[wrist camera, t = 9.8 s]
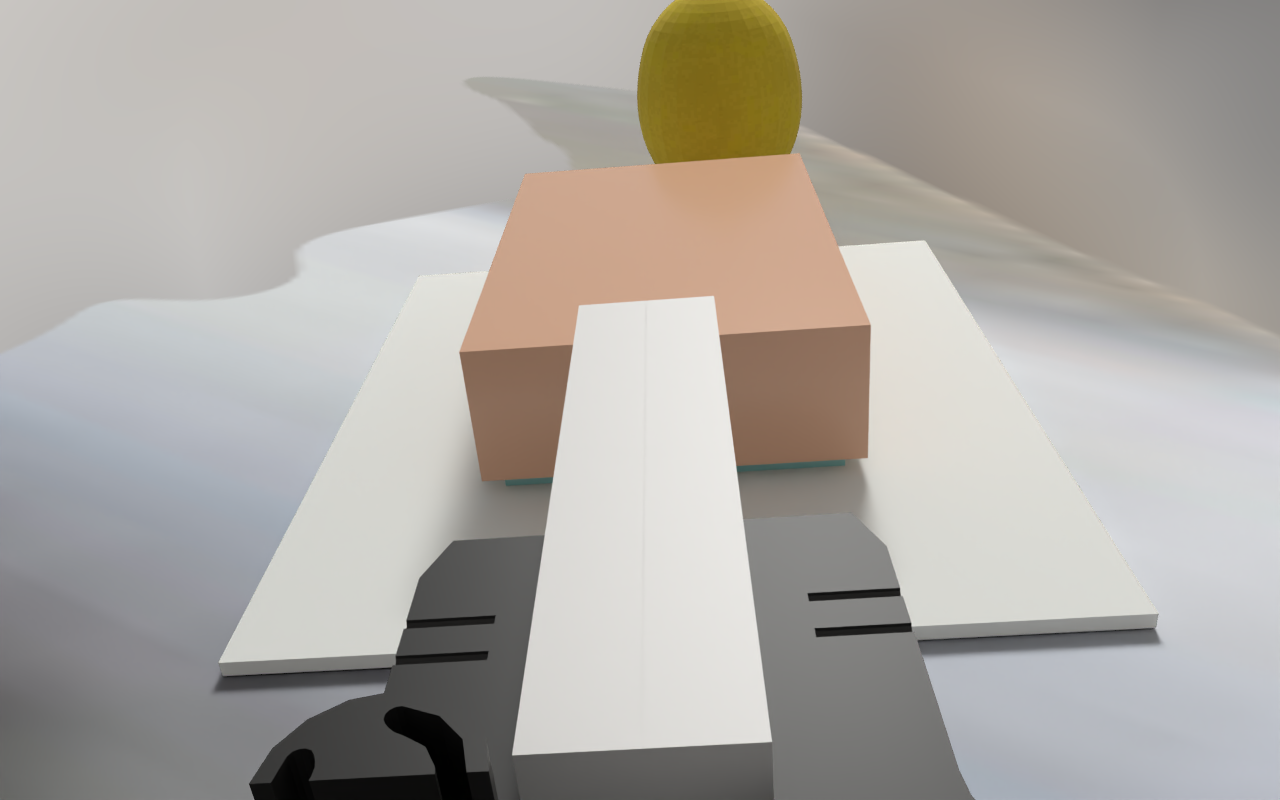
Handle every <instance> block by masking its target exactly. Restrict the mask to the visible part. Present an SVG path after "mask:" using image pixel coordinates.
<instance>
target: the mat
mask: <svg viewBox="0 0 1280 800" xmlns="http://www.w3.org/2000/svg"><path fill="white" fill-rule="evenodd" d="M839 250H840V252H841V254H842V257H843V259H844V262H845V264H846V266H847V269H848V271H849V274H850V276H851V278H852V281H853V283H854V286H855V288H856V290H857V293H858V295H859V298H860V300H861V302H862V305H863V307H864V310H865V312H866V314H867V317H868V319H869V322H870V324H871V341H870V386H869V432H868V458H860V459H845V466H829V467H812V468H796V469H779V470H762V471H746V472H737V476H738V484H739V492H740V500H741V507H742V515H743V519H753V518H770V517H786V516H802V515H819V514H835V513H851V512H852V513H853V514H854V515H855V516H856V517H857V518H858V519H859V520H860V521H861V522H862V523H863V524H864V525H865V526H866V527H867V528H868V529H869V530H870V531H871V532H873V533H874V534H875V535H876V536H877V537H878V538H879V539H880V540H881V541H882V542H883V543H884V544H885V545H886V546H887V548H888V551H889V554H890V558H891V561H892V564H893V567H894V570H895V573H896V576H897V579H898V582H899V585H900V593H901V596H903V598H904V601H905V604H906V607H907V610H908V613H909V616H910V620H911V623H912V632H915V635H916V638H917V640H929V639H948V638H967V637H987V636H1006V635H1025V634H1045V633H1064V632H1083V631H1103V630H1122V629H1141V628H1156V625H1157V620H1158V615H1159V613H1158V612H1157V610H1156V609H1155V607H1154V605H1153V604H1152V602H1151V601H1150V599H1149V597H1148V596H1147V594H1146V593H1145V591H1144V589H1143V588H1142V586H1141V585H1140V583H1139V581H1138V580H1137V578H1136V577H1135V575H1134V573H1133V572H1132V570H1131V569H1130V567H1129V565H1128V564H1127V562H1126V561H1125V559H1124V558H1123V556H1122V554H1121V553H1120V551H1119V550H1118V548H1117V546H1116V545H1115V543H1114V542H1113V540H1112V538H1111V537H1110V535H1109V534H1108V532H1107V530H1106V529H1105V527H1104V526H1103V524H1102V522H1101V521H1100V519H1099V518H1098V516H1097V514H1096V513H1095V511H1094V510H1093V508H1092V506H1091V505H1090V503H1089V502H1088V500H1087V498H1086V497H1085V495H1084V494H1083V492H1082V490H1081V489H1080V487H1079V486H1078V484H1077V482H1076V481H1075V479H1074V478H1073V476H1072V474H1071V473H1070V471H1069V470H1068V468H1067V467H1066V465H1065V463H1064V462H1063V460H1062V459H1061V457H1060V455H1059V454H1058V452H1057V451H1056V449H1055V447H1054V446H1053V444H1052V443H1051V441H1050V439H1049V438H1048V436H1047V435H1046V433H1045V431H1044V430H1043V428H1042V427H1041V425H1040V423H1039V422H1038V420H1037V419H1036V417H1035V415H1034V414H1033V412H1032V411H1031V409H1030V407H1029V406H1028V404H1027V403H1026V401H1025V399H1024V398H1023V396H1022V395H1021V393H1020V391H1019V390H1018V388H1017V387H1016V385H1015V383H1014V382H1013V380H1012V379H1011V377H1010V375H1009V374H1008V372H1007V371H1006V369H1005V368H1004V366H1003V364H1002V363H1001V361H1000V360H999V358H998V356H997V355H996V353H995V352H994V350H993V348H992V347H991V345H990V344H989V342H988V340H987V339H986V337H985V336H984V334H983V332H982V331H981V329H980V328H979V326H978V324H977V323H976V321H975V320H974V318H973V316H972V315H971V313H970V312H969V310H968V308H967V307H966V305H965V304H964V302H963V300H962V299H961V297H960V296H959V294H958V292H957V291H956V289H955V288H954V286H953V284H952V283H951V281H950V280H949V278H948V277H947V275H946V273H945V272H944V270H943V269H942V267H941V265H940V264H939V262H938V261H937V259H936V257H935V256H934V254H933V253H932V251H931V249H930V248H929V246H928V245H927V243H926V241H925V240H924V241H910V242H896V243H881V244H867V245H853V246H839ZM488 273H489V271H482V272H468V273H454V274H440V275H425V276H419V277H418V279H417V280H416V282H415V284H414V286H413V288H412V290H411V292H410V294H409V296H408V298H407V300H406V302H405V304H404V306H403V307H402V309H401V311H400V313H399V315H398V317H397V319H396V321H395V323H394V325H393V327H392V329H391V331H390V333H389V334H388V336H387V338H386V340H385V342H384V344H383V346H382V348H381V350H380V352H379V354H378V356H377V358H376V360H375V361H374V363H373V365H372V367H371V369H370V371H369V373H368V375H367V377H366V379H365V381H364V383H363V385H362V387H361V388H360V390H359V392H358V394H357V396H356V398H355V400H354V402H353V404H352V406H351V408H350V410H349V412H348V414H347V416H346V417H345V419H344V421H343V423H342V425H341V427H340V429H339V431H338V433H337V435H336V437H335V439H334V441H333V443H332V444H331V446H330V448H329V450H328V452H327V454H326V456H325V458H324V460H323V462H322V464H321V466H320V468H319V470H318V471H317V473H316V475H315V477H314V479H313V481H312V483H311V485H310V487H309V489H308V491H307V493H306V495H305V497H304V498H303V500H302V502H301V504H300V506H299V508H298V510H297V512H296V514H295V516H294V518H293V520H292V522H291V524H290V525H289V527H288V529H287V531H286V533H285V535H284V537H283V539H282V541H281V543H280V545H279V547H278V549H277V551H276V552H275V554H274V556H273V558H272V560H271V562H270V564H269V566H268V568H267V570H266V572H265V574H264V576H263V578H262V579H261V581H260V583H259V585H258V587H257V589H256V591H255V593H254V595H253V597H252V599H251V601H250V603H249V605H248V607H247V608H246V610H245V612H244V614H243V616H242V618H241V620H240V622H239V624H238V626H237V628H236V630H235V632H234V634H233V635H232V637H231V639H230V641H229V643H228V645H227V647H226V649H225V651H224V653H223V655H222V657H221V659H220V661H219V662H218V664H219V667H220V670H221V672H222V675H223V676H234V675H253V674H272V673H292V672H311V671H330V670H350V669H369V668H388V667H392V665H395V664H396V657H395V656H396V652H397V649H398V646H399V643H400V639H401V636H402V633H403V629H406V628H407V622H406V620H407V616H408V613H409V610H410V607H411V603H412V600H413V597H414V593H415V590H416V587H417V584H418V580H419V578H420V577H421V576H422V574H423V573H424V572H425V571H426V570H427V569H428V568H429V567H430V566H431V565H432V563H433V562H434V561H435V560H436V559H437V558H438V557H439V556H440V555H441V554H442V552H443V551H444V550H445V549H446V548H447V547H448V546H449V545H450V544H451V543H452V542H453V541H457V540H474V539H490V538H506V537H523V536H539V535H545V530H546V524H547V517H548V510H549V503H550V497H551V490H552V483H546V484H529V485H512V486H506V484H505V480H496V481H482V479H481V473H480V468H479V462H478V456H477V451H476V445H475V439H474V434H473V428H472V422H471V417H470V411H469V405H468V400H467V394H466V388H465V382H464V377H463V371H462V365H461V360H460V354H459V351H460V348H461V346H462V343H463V340H464V338H465V335H466V332H467V330H468V327H469V324H470V321H471V319H472V316H473V313H474V311H475V308H476V305H477V303H478V300H479V297H480V294H481V292H482V289H483V286H484V284H485V281H486V278H487V276H488Z"/></svg>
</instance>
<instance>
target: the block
mask: <svg viewBox="0 0 1280 800" xmlns="http://www.w3.org/2000/svg"><path fill="white" fill-rule="evenodd" d="M704 296H714V300H715V307H716V315H717V323H718V330H719V338H720V346H721V353H722V361H723V369H724V377H725V384H726V392H727V400H728V407H729V415H730V423H731V430H732V438H733V446H734V453H735V461H736V469H737V472H746V471H762V470H779V469H796V468H812V467H829V466H845V459H860V458H868V432H869V386H870V341H871V324H870V322H869V319H868V317H867V314H866V312H865V310H864V307H863V305H862V302H861V300H860V298H859V295H858V293H857V290H856V288H855V286H854V283H853V281H852V278H851V276H850V274H849V271H848V269H847V266H846V264H845V262H844V259H843V257H842V254H841V252H840V250H839V247H838V245H837V242H836V240H835V238H834V235H833V233H832V230H831V228H830V226H829V223H828V221H827V218H826V216H825V214H824V211H823V209H822V206H821V204H820V202H819V199H818V197H817V194H816V192H815V190H814V187H813V185H812V182H811V180H810V178H809V175H808V173H807V170H806V168H805V166H804V163H803V161H802V158H801V156H800V154H799V153H798V154H785V155H771V156H758V157H744V158H731V159H718V160H704V161H691V162H677V163H664V164H651V165H637V166H624V167H610V168H597V169H584V170H570V171H557V172H543V173H530V174H525V175H524V178H523V181H522V184H521V187H520V189H519V192H518V195H517V197H516V200H515V203H514V205H513V208H512V211H511V213H510V216H509V219H508V221H507V224H506V227H505V230H504V232H503V235H502V238H501V240H500V243H499V246H498V248H497V251H496V254H495V257H494V259H493V262H492V265H491V267H490V270H489V273H488V276H487V278H486V281H485V284H484V286H483V289H482V292H481V294H480V297H479V300H478V303H477V305H476V308H475V311H474V313H473V316H472V319H471V321H470V324H469V327H468V330H467V332H466V335H465V338H464V340H463V343H462V346H461V348H460V351H459V354H460V360H461V365H462V371H463V377H464V382H465V388H466V394H467V400H468V405H469V411H470V417H471V422H472V428H473V434H474V439H475V445H476V451H477V456H478V462H479V468H480V473H481V479H482V481H496V480H505V484H506V486H512V485H529V484H546V483H553V476H554V470H555V463H556V456H557V450H558V443H559V436H560V429H561V423H562V416H563V409H564V403H565V396H566V389H567V382H568V376H569V369H570V362H571V356H572V349H573V342H574V335H575V329H576V322H577V315H578V308H579V305H591V304H605V303H619V302H634V301H648V300H662V299H676V298H690V297H704Z"/></svg>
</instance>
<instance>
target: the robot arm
mask: <svg viewBox="0 0 1280 800" xmlns="http://www.w3.org/2000/svg"><path fill="white" fill-rule="evenodd" d="M406 622H407V628H406V629H403V633H402V636H401V639H400V643H399V646H398V649H397V652H396V656H395V657H396V664H395V665H392V669H391V672H390V675H389V679H388V682H387V685H386V688H385V692H384V693H383V694H377V695H372V696H367V697H362V698H357V699H351V700H348V701H346V702H344V703H342V704H340V705H337V706H335V707H333V708H331V709H329V710H327V711H325V712H322V713H320V714H318V715H316V716H314V717H312V718H309V719H307V720H306V721H305V722H304V723H303V724H301V725H300V726H299V727H298V728H296V729H295V730H294V731H293V732H292V733H290V734H289V735H288V736H287V737H286V738H284V739H283V740H282V741H281V742H279V743H278V744H277V745H276V746H275V747H273V748H272V750H271V751H270V753H269V754H268V756H267V757H266V759H265V760H264V762H263V763H262V765H261V766H260V768H259V769H258V771H257V772H256V774H255V776H254V777H253V779H252V780H251V782H250V783H249V785H250V788H251V791H252V794H253V797H254V799H255V800H975V799H974V798H973V796H972V795H971V794H970V792H969V789H968V787H967V785H966V783H965V781H964V779H963V777H962V775H961V773H960V771H959V768H958V765H957V762H956V759H955V756H954V753H953V750H952V747H951V744H950V741H949V737H948V734H947V731H946V728H945V725H944V722H943V719H942V716H941V713H940V710H939V706H938V703H937V700H936V697H935V694H934V691H933V688H932V685H931V682H930V679H929V675H928V672H927V669H926V666H925V663H924V660H923V657H922V654H921V651H920V647H919V644H918V641H917V638H916V635H915V632H912V623H911V620H910V616H909V613H908V610H907V607H906V604H905V601H904V598H903V596H901V593H900V585H899V582H898V579H897V576H896V573H895V570H894V567H893V564H892V561H891V558H890V554H889V551H888V548H887V546H886V545H885V544H884V543H883V542H882V541H881V540H880V539H879V538H878V537H877V536H876V535H875V534H874V533H873V532H871V531H870V530H869V529H868V528H867V527H866V526H865V525H864V524H863V523H862V522H861V521H860V520H859V519H858V518H857V517H856V516H855V515H854V514H853V513H852V512H851V513H835V514H819V515H802V516H786V517H770V518H753V519H743V515H742V507H741V500H740V492H739V484H738V476H737V469H736V461H735V453H734V446H733V438H732V430H731V423H730V415H729V407H728V400H727V392H726V384H725V377H724V369H723V361H722V353H721V346H720V338H719V330H718V323H717V315H716V307H715V300H714V296H704V297H690V298H676V299H662V300H648V301H634V302H619V303H605V304H591V305H579V308H578V315H577V322H576V329H575V335H574V342H573V349H572V356H571V362H570V369H569V376H568V382H567V389H566V396H565V403H564V409H563V416H562V423H561V429H560V436H559V443H558V450H557V456H556V463H555V470H554V476H553V483H552V490H551V497H550V503H549V510H548V517H547V524H546V530H545V535H539V536H523V537H506V538H490V539H474V540H457V541H453V542H452V543H451V544H450V545H449V546H448V547H447V548H446V549H445V550H444V551H443V552H442V554H441V555H440V556H439V557H438V558H437V559H436V560H435V561H434V562H433V563H432V565H431V566H430V567H429V568H428V569H427V570H426V571H425V572H424V573H423V574H422V576H421V577H420V578H419V580H418V584H417V587H416V590H415V593H414V597H413V600H412V603H411V607H410V610H409V613H408V616H407V620H406Z"/></svg>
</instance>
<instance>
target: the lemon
mask: <svg viewBox="0 0 1280 800" xmlns="http://www.w3.org/2000/svg"><path fill="white" fill-rule="evenodd" d="M637 100H638V113H639V120H640V126H641V130H642V134H643V138H644V141H645V143H646V146H647V149H648V151H649V153H650V155H651V157H652V159H653V161H654V163H655V164H664V163H677V162H691V161H704V160H718V159H731V158H744V157H758V156H771V155H785V154H790V153H791V151H792V148H793V146H794V143H795V140H796V137H797V133H798V129H799V124H800V118H801V108H802V90H801V79H800V71H799V66H798V62H797V58H796V53H795V49H794V46H793V43H792V40H791V37H790V35H789V33H788V30H787V28H786V26H785V25H784V23H783V22H782V20H781V18H780V17H779V15H777V13H776V12H775V11H774V10H773V9H772V8H771V6H769V5H768V4H767V3H766V2H765V1H764V0H675V1H674V2H672V3H671V4H670V5H669V6H668V7H667V8H666V9H665V10H664V11H663V12H662V14H661V15H660V16H659V17H658V19H657V20H656V22H655V23H654V25H653V26H652V28H651V30H650V32H649V34H648V36H647V39H646V42H645V45H644V48H643V52H642V57H641V62H640V68H639V76H638V91H637Z"/></svg>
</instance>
